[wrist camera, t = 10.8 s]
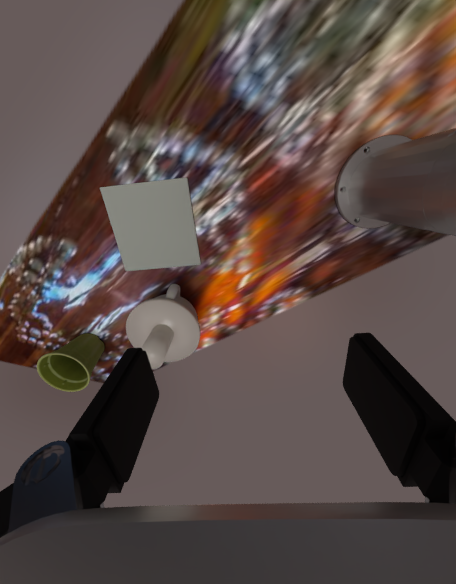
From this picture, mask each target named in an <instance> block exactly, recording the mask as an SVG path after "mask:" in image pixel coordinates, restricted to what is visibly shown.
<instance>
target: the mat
mask: <svg viewBox="0 0 456 584" xmlns="http://www.w3.org/2000/svg"><path fill="white" fill-rule="evenodd" d="M100 190H101V193H102V196H103V200H104V203H105V206H106V209H107V212H108V216H109V219H110V222H111V225H112V228H113V232H114V235H115V238H116V241H117V245H118V248H119V251H120V254H121V257H122V261H123V264H124V267H125V270H126V271H133V270H145V269H156V268H167V267H178V266H190V265H201V261H200V255H199V249H198V242H197V236H196V230H195V223H194V217H193V211H192V204H191V198H190V192H189V185H188V179H187V178H179V179H170V180H161V181H153V182H144V183H135V184H127V185H118V186H109V187H100Z"/></svg>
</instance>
